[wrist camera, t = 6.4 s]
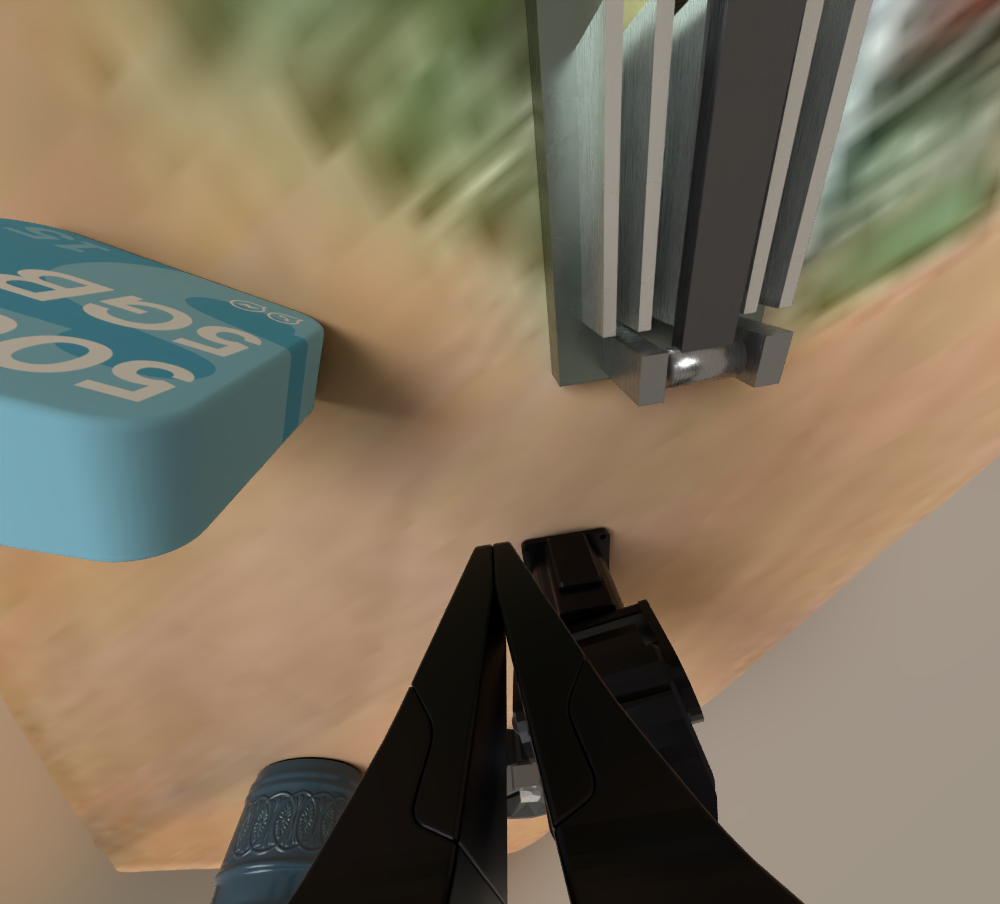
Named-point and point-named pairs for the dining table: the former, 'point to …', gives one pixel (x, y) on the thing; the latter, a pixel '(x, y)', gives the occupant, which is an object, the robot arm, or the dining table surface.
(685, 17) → the heatsink
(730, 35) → the dark grey bar
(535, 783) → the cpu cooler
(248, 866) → the canister
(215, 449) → the data package
